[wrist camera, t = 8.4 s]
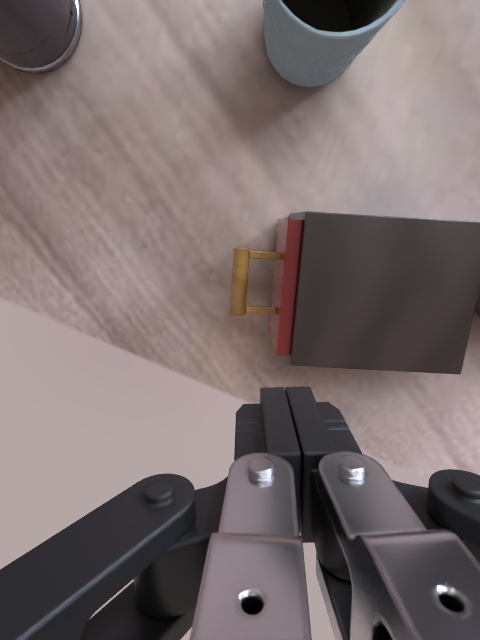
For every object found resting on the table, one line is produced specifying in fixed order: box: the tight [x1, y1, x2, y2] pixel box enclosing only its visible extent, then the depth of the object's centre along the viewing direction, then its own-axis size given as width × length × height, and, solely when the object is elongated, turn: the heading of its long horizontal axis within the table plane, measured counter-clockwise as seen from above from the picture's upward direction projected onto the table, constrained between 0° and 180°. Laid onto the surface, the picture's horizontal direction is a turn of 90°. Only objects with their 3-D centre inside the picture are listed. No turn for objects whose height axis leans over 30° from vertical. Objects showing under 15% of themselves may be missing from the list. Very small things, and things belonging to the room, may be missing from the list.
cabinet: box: [287, 212, 480, 374], centre depth 36 cm, size 15×13×10 cm
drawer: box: [230, 219, 303, 355], centre depth 36 cm, size 18×11×8 cm, turn 87°
